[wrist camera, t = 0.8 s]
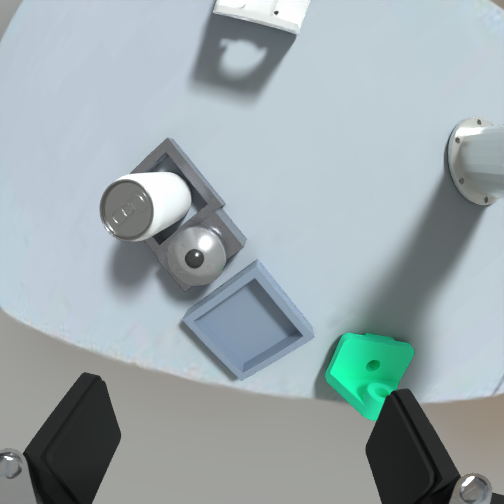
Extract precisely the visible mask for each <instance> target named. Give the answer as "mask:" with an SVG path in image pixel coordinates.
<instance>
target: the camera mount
mask: <svg viewBox="0 0 504 504" xmlns="http://www.w3.org/2000/svg"><path fill="white" fill-rule="evenodd" d="M414 354H415V350H414V349H413V347H412V346H411V345H410V344H409V343H406V342H399V341H394V340H393V338H392V337H386V336H380V335H375V334H369V333H365V334H364V335H359V334H353V333H346V334H344V335H343V336H342V337H341V339H340V341H339V343H338V346H337V348H336V350H335V353H334V355H333V357H332V359H331V362H330V364H329V366H328V368H327V370H326V373H325V379H326V381H327V382H328V383H329V384H330V385H331V386H332V387H333V388H334V389H335V390H336V391H337V392H338V393H339V394H340V395H341V396H342V397H343V398H344V399H345V400H346V401H347V402H348V403H350V404H351V405H352V406H353V407H354V408H355V409H356V410H357V411H358V412H359V413H360V414H362V416H364V417H365V418H367V419H369V420H373V421H377V419H378V416H379V414H380V411H381V409H382V406H383V403H384V401H385V398H386V396H387V395H390V393H391V392H392V391H394V390H397V387H398V384H399V381H400V380H401V378H402V376H403V374H404V373H405V371H406V369H407V367H408V365H409V364H410V362H411V360H412V358H413V356H414ZM370 361H371V362H370Z"/></svg>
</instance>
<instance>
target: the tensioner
mask: <svg viewBox="0 0 504 504" xmlns="http://www.w3.org/2000/svg"><path fill="white" fill-rule="evenodd" d="M168 156H170V157H171V159H172V160H173V161H174V162H175V164H176V165H177V166H178V167H179V169H180V170H181V171H182V172H183V174H184V175H185V176H186V177H187V179H188V180H189V181H190V182H191V183H192V185H193V186H194V187H195V188H196V190H197V191H198V192H199V193H200V195H201V196H202V197H203V198H204V200H205V201H206V202H207V203H208V204H207V205H206V206H205V207H204V208H202V209H201V210H200V211H199V212H198V213H197V214H195V215H194V216H193V217H192V218H191V219H189V220H188V221H187V222H186V223H185V224H184V225H182V226H181V227H180V228H179V229H178V230H177V231H175V232H174V233H173V234H172V235H171V236H170V237H168V238H167V239H166V240H165V241H164V239H163V238H162V237H161V236H160V234H159V233H157V234H155V235H153V236H151V237H149V238H147V239H145V240H144V241H145V242H146V243H147V245H148V246H149V247H150V248H151V250H152V251H153V252H154V253H155V255H156V256H157V257H158V258H159V259H158V261H159V262H160V263H161V264H162V265H163V267H164V268H165V269H166V270H167V271H168V273H169V274H170V275H171V276H172V277H173V278H174V280H175V281H176V282H177V283H178V284H179V286H180V287H181V288H182V289H183V290H184V291H187V290H188V289H189V288H191V287H192V286H202V285H206V284H209V283H211V282H213V281H214V280H215V279H217V277H218V276H219V275H220V274H221V272H222V270H223V268H224V266H225V263H226V260H227V259H229V258H230V257H231V256H233V255H234V254H235V253H237V252H238V251H239V250H240V249H242V248H243V247H244V245H245V242H246V238H245V236H244V235H243V234H242V233H241V231H240V230H239V229H238V228H237V226H236V225H235V224H234V223H233V221H232V220H231V219H230V218H229V216H228V215H227V214H226V213H225V211H224V210H223V209H222V208H221V207H222V206H223V205H224V204H225V202H224V201H223V200H222V199H221V197H220V196H219V195H218V194H217V192H216V191H215V190H214V189H213V188H212V186H211V185H210V184H209V183H208V181H207V180H206V179H205V178H204V176H203V175H202V174H201V173H200V171H199V170H198V169H197V168H196V167H195V165H194V164H193V163H192V162H191V160H190V159H189V158H188V157H187V155H186V154H185V153H184V152H183V151H182V149H181V148H180V147H179V146H178V144H177V143H176V142H175V141H174V139H171V138H167V139H166V140H164V141H163V142H162V143H161V144H160V145H159V146H158V147H157V148H156V149H155V150H154V151H153V152H151V153H150V154H149V155H148V156H147V157H146V158H145V159H144V160H143V161H142V162H141V163H140V164H139V165H138V166H137V167H136V168H135V169H134V170H133V171H132V172H131V173H130V174H137V173H150V172H151V171H152V170H154V169H155V168H156V167H157V166H158V165H159V164H160V163H161V162H162V161H163V160H164V159H165V158H167V157H168Z"/></svg>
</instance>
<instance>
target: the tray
mask: <svg viewBox="0 0 504 504" xmlns="http://www.w3.org/2000/svg"><path fill="white" fill-rule="evenodd" d="M182 320H183V321H184V322H185V323H186V325H187V326H188V327H189V328H190V329H191V330H192V331H193V332H194V333H195V334H196V335H197V336H198V337H199V338H200V340H201V341H202V342H203V343H204V344H205V345H206V346H207V347H208V348H209V349H210V350H211V351H212V352H213V353H214V354H215V355H216V356H217V357H218V358H219V359H220V360H221V361H222V362H223V363H224V364H225V365H226V366H227V367H228V368H229V369H230V370H231V371H232V372H233V373H234V374H235V375H236V376H237V377H238V378H239V379H240V380H241V381H242V380H244V379H246V378H247V377H249V376H251V375H253V374H255V373H256V372H258V371H260V370H262V369H263V368H265V367H267V366H268V365H270V364H272V363H274V362H275V361H277V360H279V359H280V358H282V357H284V356H285V355H287V354H289V353H290V352H292V351H294V350H295V349H297V348H298V347H300V346H302V345H303V344H305V343H306V342H308V341H310V340H311V339H313V338H314V333H313V329H312V326H311V325H310V323H309V322H308V321H307V320H306V318H305V317H304V316H303V315H302V313H301V312H300V311H299V310H298V308H297V307H296V306H295V305H294V303H293V302H292V301H291V300H290V298H289V297H288V296H287V295H286V294H285V292H284V291H283V290H282V289H281V287H280V286H279V285H278V284H277V282H276V281H275V280H274V279H273V277H272V276H271V275H270V274H269V272H268V271H267V270H266V269H265V268H264V266H263V265H262V264H261V263H260V261H259V260H258V259H257V260H255V261H254V262H253V263H251V264H250V265H248V266H247V267H246V268H244V269H243V270H242V271H240V272H239V273H238V274H236V275H235V276H234V277H232V278H231V279H229V280H228V281H227V282H225V283H224V284H223V285H221V286H220V287H219V288H217V289H216V290H214V291H213V292H212V293H210V294H209V295H208V296H206V297H205V298H204V299H202V300H201V301H199V302H198V303H197V304H195V305H194V306H193V307H191V308H190V309H189V310H188V311H187V312H186V314H185V316H184V318H183V319H182Z"/></svg>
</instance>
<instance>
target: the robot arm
mask: <svg viewBox="0 0 504 504" xmlns="http://www.w3.org/2000/svg"><path fill="white" fill-rule="evenodd" d="M448 163H449V169H450V172H451V176H452V179H453V181H454V183H455V185H456V187H457V188H458V190H459V192H460V193H461V194H462V195H463V196H464V197H465V198H466V199H468V200H469V201H470V202H473V203H475V204H479V205H489V204H492V203H494V202H495V201H497V200H498V199H499V198H504V125H495V126H494V125H493V124H492V123H491V122H489V121H488V120H486V119H483V118H480V117H471V118H467V119H464V120H462V121H461V122H460V123H459V124H458V125H457V126H456V127H455V129H454V130H453V132H452V134H451V137H450V141H449V146H448ZM120 439H121V432H120V429H119V426H118V423H117V420H116V417H115V414H114V410H113V407H112V404H111V401H110V397H109V394H108V390H107V386H106V383H105V382H104V381H102V379H101V377H100V376H98V375H94V374H90V373H86V372H85V373H83V374H81V376H80V377H79V378H78V379H77V381H76V382H75V383H74V385H73V386H72V387H71V388H70V390H69V391H68V392H67V394H66V395H65V396H64V398H63V399H62V400H61V401H60V403H59V404H58V406H57V407H56V408H55V410H54V411H53V412H52V413H51V415H50V416H49V417H48V419H47V420H46V422H45V423H44V424H43V426H42V427H41V428H40V430H39V431H38V432H37V434H36V435H35V437H34V438H33V439H32V441H31V442H30V444H29V445H28V446H27V448H26V449H25V451H24V453H23V454H22V453H21V452H19V451H18V450H15V449H8V448H6V449H3V450H0V504H92V502H93V500H94V498H95V495H96V493H97V491H98V488H99V486H100V484H101V482H102V479H103V477H104V475H105V473H106V471H107V468H108V466H109V464H110V462H111V459H112V457H113V455H114V453H115V451H116V448H117V446H118V444H119V442H120ZM366 455H367V458H368V461H369V464H370V467H371V470H372V474H373V477H374V480H375V483H376V486H377V489H378V492H379V496H380V499H381V502H382V504H504V495H500V494H496V493H493V492H492V486H491V483H490V481H489V480H488V479H487V478H486V477H485V476H483V475H481V474H478V473H470V474H466V475H464V476H462V477H461V476H460V474H459V472H458V471H457V469H456V467H455V465H454V463H453V461H452V460H451V458H450V456H449V454H448V452H447V451H446V449H445V447H444V445H443V444H442V442H441V440H440V438H439V437H438V435H437V433H436V431H435V430H434V428H433V426H432V425H431V423H430V422H429V420H428V418H427V417H426V415H425V413H424V412H423V410H422V408H421V407H420V405H419V403H418V402H417V400H416V399H415V397H414V395H413V394H412V392H411V391H410V389H401V390H394V391H392V392H391V393H390V395H387V396H386V398H385V401H384V403H383V406H382V409H381V411H380V414H379V416H378V419H377V421H376V424H375V426H374V428H373V431H372V433H371V435H370V438H369V440H368V442H367V444H366Z"/></svg>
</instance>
